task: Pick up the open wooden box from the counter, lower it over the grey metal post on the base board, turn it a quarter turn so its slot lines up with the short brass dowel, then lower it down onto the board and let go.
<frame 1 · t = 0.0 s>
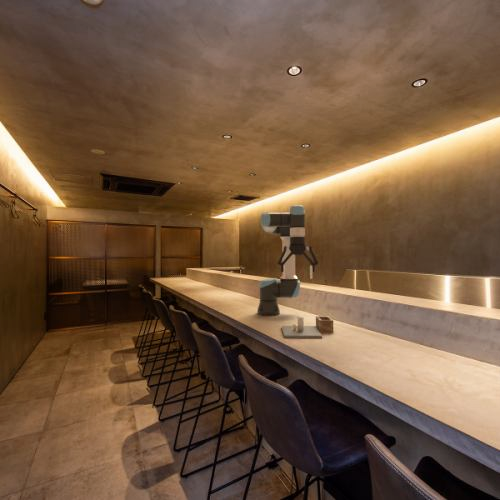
hand: (297, 278, 146), 28 cm above the worktop, fingers open, 13 cm apart
base: (300, 332, 148), on the worktop
open wooden box: (324, 329, 154), on the worktop
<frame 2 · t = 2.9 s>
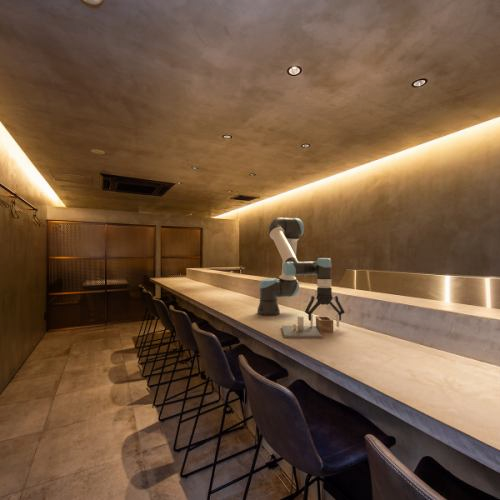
hand: (324, 326, 154), 1 cm above the worktop, fingers open, 13 cm apart
nothing on the worktop moved.
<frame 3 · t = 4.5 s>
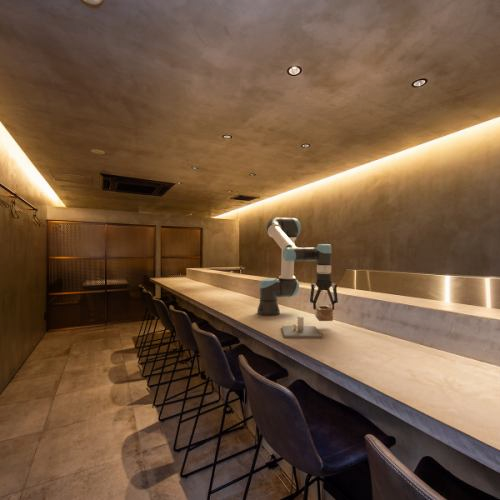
hand: (323, 315, 155), 7 cm above the worktop, fingers closed on open wooden box, 7 cm apart
open wooden box: (323, 318, 155), point 6 cm above the worktop, touching gripper
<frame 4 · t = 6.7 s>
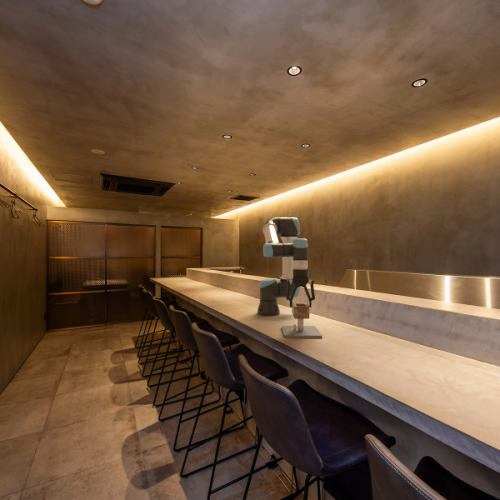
hand: (300, 313, 148), 10 cm above the worktop, fingers closed on open wooden box, 7 cm apart
open wooden box: (300, 316, 148), point 8 cm above the worktop, touching gripper
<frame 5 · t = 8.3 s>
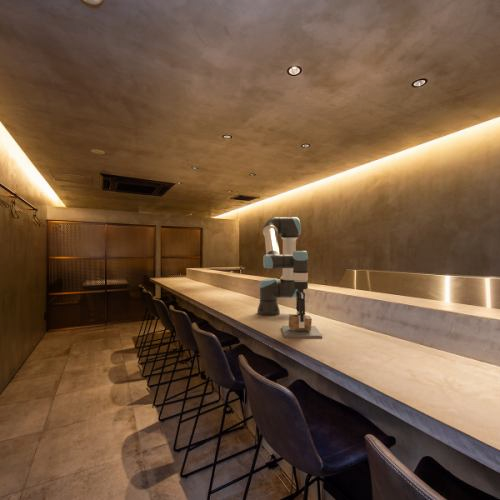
hand: (300, 325, 148), 4 cm above the worktop, fingers closed on open wooden box, 7 cm apart
open wooden box: (299, 328, 148), point 2 cm above the worktop, touching gripper
when the fingers open (2 cm above the worktop, at t = 9.3 s): open wooden box stays where it is, resting on base.
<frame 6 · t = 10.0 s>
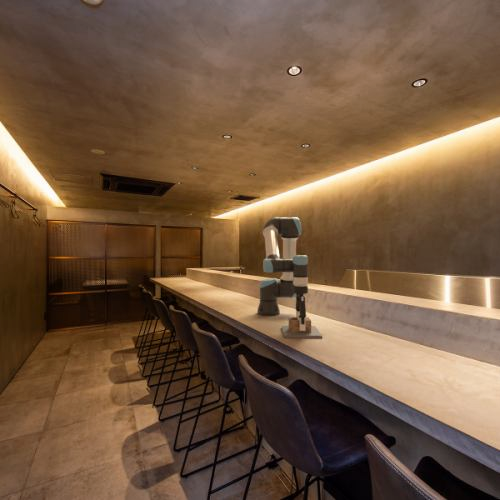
hand: (300, 327, 148), 3 cm above the worktop, fingers open, 13 cm apart
open wooden box: (300, 330, 148), point 1 cm above the worktop, touching base
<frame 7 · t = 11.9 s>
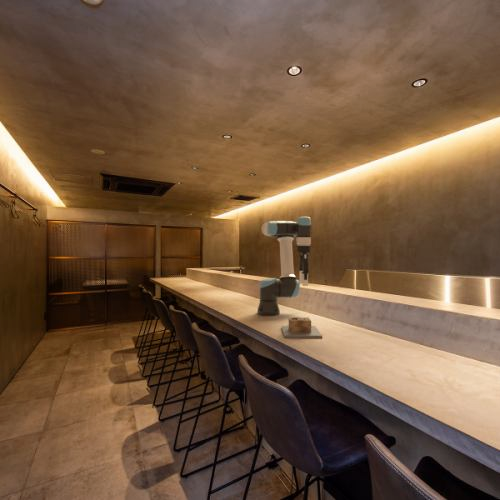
hand: (303, 284, 159), 24 cm above the worktop, fingers open, 13 cm apart
nothing on the worktop moved.
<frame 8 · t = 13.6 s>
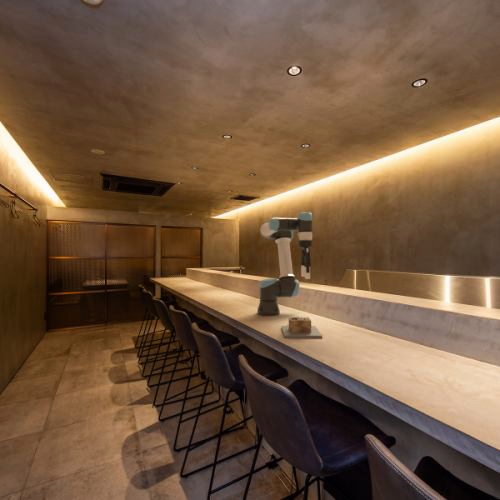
hand: (305, 277, 163), 27 cm above the worktop, fingers open, 13 cm apart
nothing on the worktop moved.
at the end: open wooden box 0.4 cm off-centre on the base, point 1.2 cm above the base's base; open wooden box tilted 0°; the gripper is holding nothing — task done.
